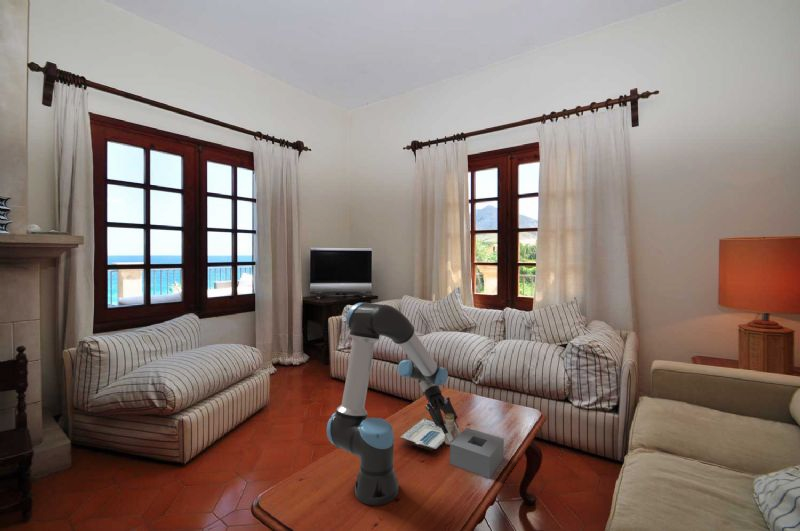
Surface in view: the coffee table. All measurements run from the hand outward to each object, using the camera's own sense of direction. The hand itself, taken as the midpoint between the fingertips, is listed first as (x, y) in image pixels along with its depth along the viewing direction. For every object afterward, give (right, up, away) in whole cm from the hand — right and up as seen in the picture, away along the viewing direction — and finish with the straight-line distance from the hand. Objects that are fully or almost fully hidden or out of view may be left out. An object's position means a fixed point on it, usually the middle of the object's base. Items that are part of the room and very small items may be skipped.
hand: (455, 438), depth 149 cm
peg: (-2, -3, +3) cm, 5 cm away
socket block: (+7, -4, -10) cm, 13 cm away
